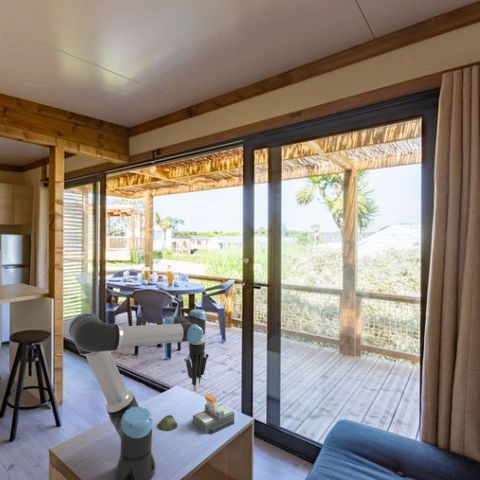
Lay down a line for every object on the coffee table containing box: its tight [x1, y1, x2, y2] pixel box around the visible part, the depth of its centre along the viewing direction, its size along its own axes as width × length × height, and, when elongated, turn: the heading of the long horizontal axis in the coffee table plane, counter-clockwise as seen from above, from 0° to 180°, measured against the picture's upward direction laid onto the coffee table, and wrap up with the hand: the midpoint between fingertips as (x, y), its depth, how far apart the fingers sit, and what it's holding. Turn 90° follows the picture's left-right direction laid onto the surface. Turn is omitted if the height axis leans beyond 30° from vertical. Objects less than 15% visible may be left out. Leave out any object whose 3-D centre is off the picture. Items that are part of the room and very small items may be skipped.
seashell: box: [157, 414, 179, 432], centre depth 165 cm, size 10×4×10 cm
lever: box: [204, 392, 220, 415], centre depth 168 cm, size 2×8×9 cm, turn 42°
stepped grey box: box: [192, 403, 235, 434], centre depth 169 cm, size 18×12×7 cm, turn 133°
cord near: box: [209, 419, 235, 435], centre depth 164 cm, size 14×2×2 cm, turn 133°
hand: (195, 390), depth 161 cm, fingers closed
